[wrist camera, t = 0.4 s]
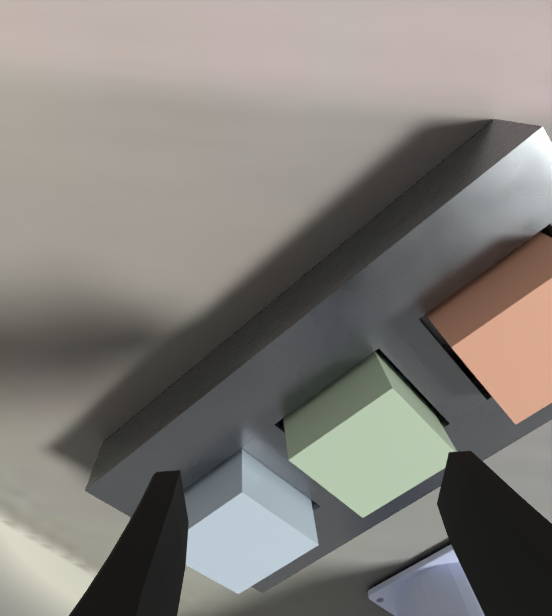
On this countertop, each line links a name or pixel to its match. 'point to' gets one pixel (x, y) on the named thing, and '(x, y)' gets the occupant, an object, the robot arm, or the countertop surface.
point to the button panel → (354, 339)
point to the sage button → (367, 436)
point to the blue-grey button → (246, 522)
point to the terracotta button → (506, 327)
